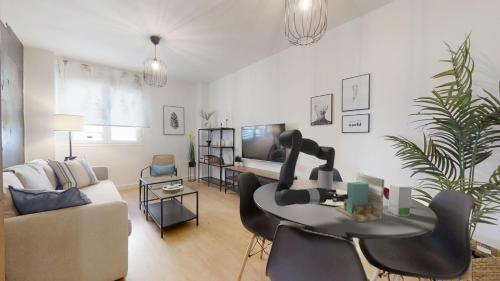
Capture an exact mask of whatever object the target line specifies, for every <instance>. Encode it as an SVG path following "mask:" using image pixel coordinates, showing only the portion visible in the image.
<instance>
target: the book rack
mask: <svg viewBox="0 0 500 281" xmlns="http://www.w3.org/2000/svg"><path fill="white" fill-rule="evenodd" d="M355 182H364V183H368V184H369V188H368V205H363V206H354V212H353V214H352V213H350V212H348V211H346V202H347V201H344V202H343V205H341V206H339V205H338V206H335V208H334V209H335V211H337V212H339V213H341V214H342V215H345V216H346V217H349V219H352V220H354V221H355V222H357V223H359V222H368V221H375V220H382V219H383V204H384V194H383V193H384V187H385V179H383V178H378V177H375V176H371V175H368V174H364V173H360V172H356V179H355Z"/></svg>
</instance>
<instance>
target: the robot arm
mask: <svg viewBox="0 0 500 281" xmlns="http://www.w3.org/2000/svg"><path fill="white" fill-rule="evenodd" d="M278 141H279V144H280V145H281V147H283V148H284V149H288V150H289V153H288V154H287V157H286V158H285V159H284V161H283V163H282V164H281V167H280V172H279V178H278V182H277V186H276V188H275V191H274V197H273V198H274V203H275V204H276V205H277V206H278V207H286V206H293V205H316V204H317V205H318V204H324V203H326V202H327V201H332V202H333V203H341V202H343V203H344V202H345V200H347V199H348V194H347V193H344V194H340V193H339V194H338V193H337V189H336V188H335V189H334V188H333V181H334V167H335V156H336V150H335V147H332V146H321V145H319V143H318V142H317V141H315V140H313V139H310V138H305V137H303V134H302V132H301V131H300V130H299V129H298V128H297V129H296V128H295V129H291V130H286V131H283V132H282V133H280V135H279V137H278ZM300 153H303V154H305V155H308V156H313V157H315V158H317V159H318V160H320V161H326V162H325V163H324V164H320V165H318V171H317V173H318V175H317V176H318V177H317V180H316V187H309V188H300V189H293V188H292V187H293V185H294V182H295V181H294V180H295V174H296V168H297V167H296V166H297V162H298V159H299V157H300V156H299V155H300Z"/></svg>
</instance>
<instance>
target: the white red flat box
mask: <svg viewBox="0 0 500 281" xmlns="http://www.w3.org/2000/svg"><path fill="white" fill-rule="evenodd" d="M383 197H385V199H386V200H387V201H389V188H388V187H386V186H384V193H383ZM413 198H414V196H411V199H413Z"/></svg>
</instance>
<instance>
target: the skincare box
mask: <svg viewBox="0 0 500 281" xmlns="http://www.w3.org/2000/svg"><path fill="white" fill-rule="evenodd" d="M388 189H389V200H388V202H387V204H388V207H387V212H388V213H390V214H392V215H394V216H396V217H401V216H402V217H407V216H409V217H410V216H411V203H412V198H411V197H412V190H413V189H412V186H410V185H406V184H403V183H389V188H388Z"/></svg>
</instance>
